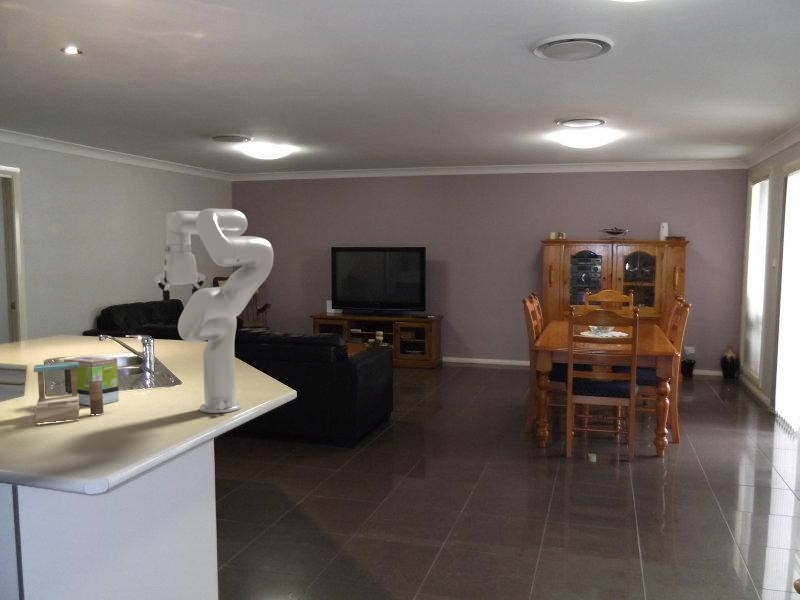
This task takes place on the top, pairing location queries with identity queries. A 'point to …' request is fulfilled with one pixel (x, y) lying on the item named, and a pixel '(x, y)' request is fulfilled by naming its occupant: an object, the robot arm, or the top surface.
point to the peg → (96, 397)
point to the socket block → (57, 405)
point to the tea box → (94, 377)
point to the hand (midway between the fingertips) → (181, 301)
